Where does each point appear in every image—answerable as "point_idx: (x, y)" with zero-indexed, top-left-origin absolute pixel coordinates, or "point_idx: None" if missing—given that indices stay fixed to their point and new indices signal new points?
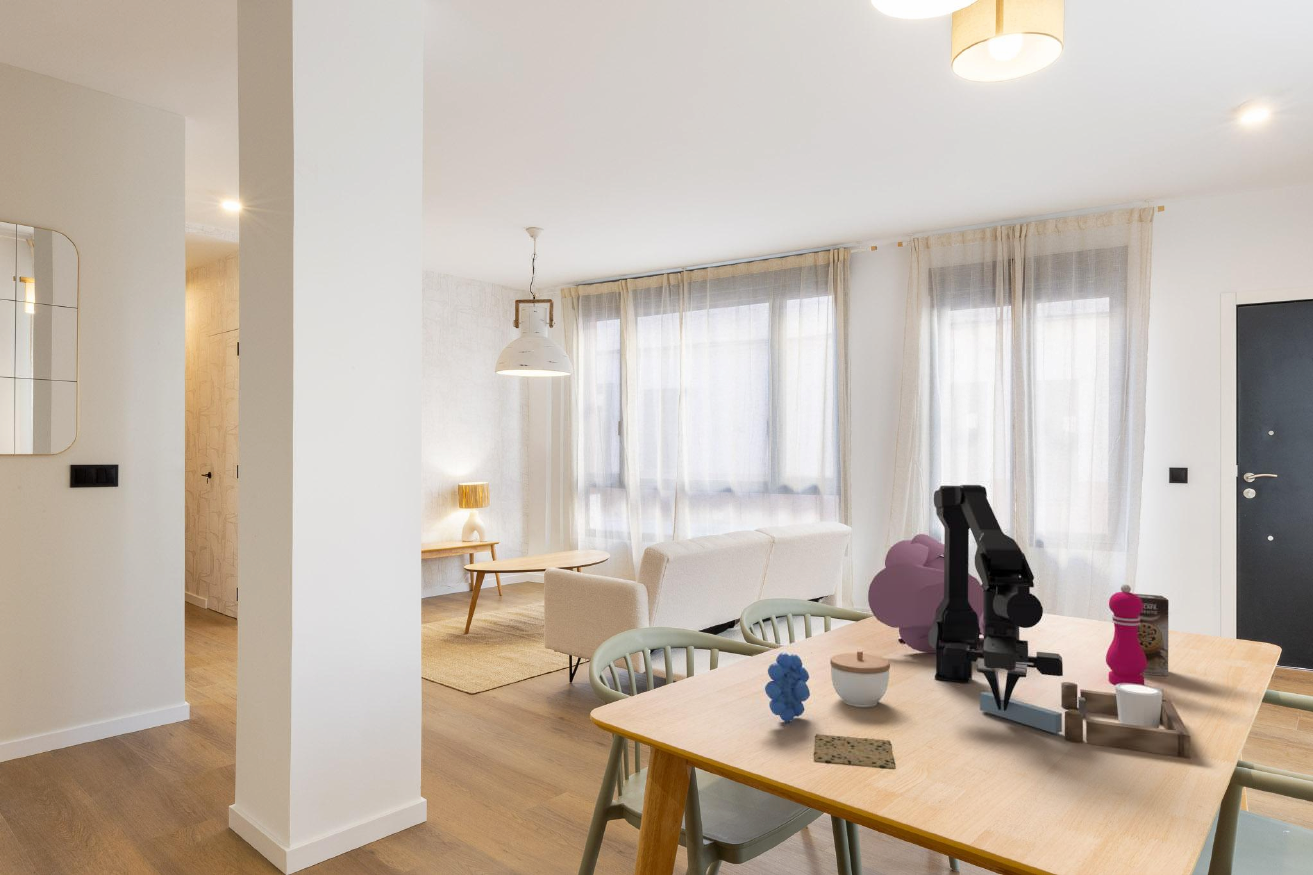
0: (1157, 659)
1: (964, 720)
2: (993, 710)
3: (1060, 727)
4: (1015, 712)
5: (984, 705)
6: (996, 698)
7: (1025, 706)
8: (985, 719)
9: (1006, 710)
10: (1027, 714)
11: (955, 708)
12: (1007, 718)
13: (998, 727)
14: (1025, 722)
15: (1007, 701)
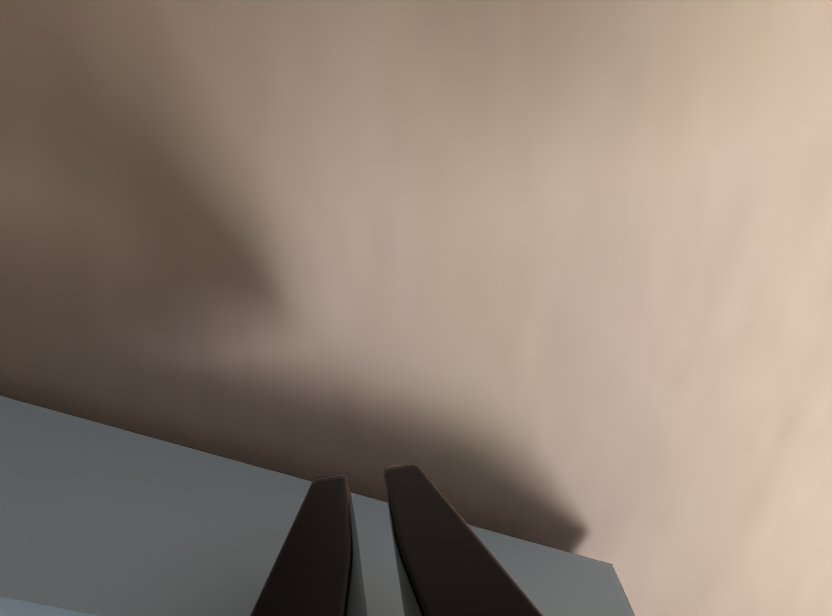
0: None
1: (763, 221)
2: None
3: None
4: (212, 532)
5: (586, 603)
6: (468, 567)
7: (20, 595)
8: (538, 385)
9: None
10: (22, 502)
11: (823, 521)
12: None
13: (366, 195)
14: (86, 433)
15: (287, 573)
